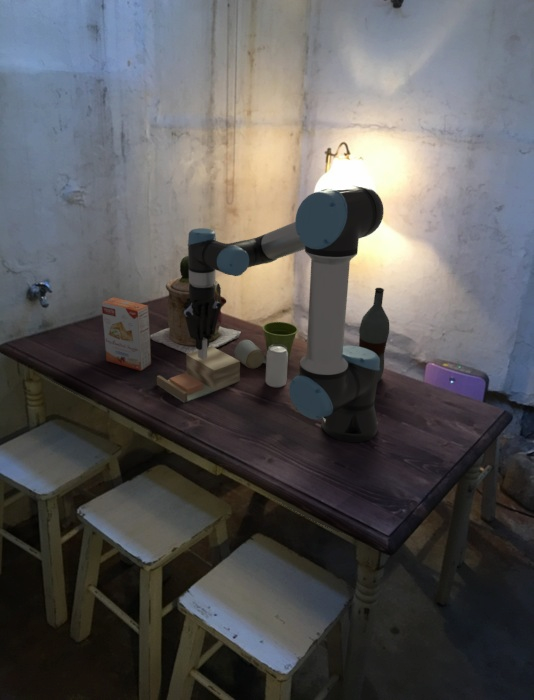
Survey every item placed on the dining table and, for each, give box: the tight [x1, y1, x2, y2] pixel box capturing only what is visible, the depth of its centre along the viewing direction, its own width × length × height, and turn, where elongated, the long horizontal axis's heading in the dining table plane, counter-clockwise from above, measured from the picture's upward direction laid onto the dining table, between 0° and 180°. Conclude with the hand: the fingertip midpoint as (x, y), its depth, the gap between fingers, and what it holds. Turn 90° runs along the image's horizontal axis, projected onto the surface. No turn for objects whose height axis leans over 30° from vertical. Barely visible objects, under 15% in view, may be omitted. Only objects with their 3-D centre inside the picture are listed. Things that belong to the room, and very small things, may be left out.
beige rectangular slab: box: [185, 346, 241, 392], centre depth 178 cm, size 14×10×7 cm
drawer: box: [156, 374, 215, 404], centre depth 172 cm, size 14×11×3 cm
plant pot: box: [262, 321, 299, 361], centre depth 192 cm, size 12×12×11 cm
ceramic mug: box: [233, 339, 267, 370], centre depth 188 cm, size 11×8×8 cm
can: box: [265, 345, 289, 389], centre depth 175 cm, size 6×6×12 cm
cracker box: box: [101, 297, 152, 372], centre depth 182 cm, size 14×6×21 cm, turn 64°
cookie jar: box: [150, 255, 242, 354], centre depth 200 cm, size 25×25×32 cm
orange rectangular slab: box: [168, 372, 204, 395], centre depth 172 cm, size 9×6×2 cm, turn 44°
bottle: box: [358, 287, 390, 383], centre depth 178 cm, size 9×9×30 cm
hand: (202, 357), depth 173 cm, fingers closed
